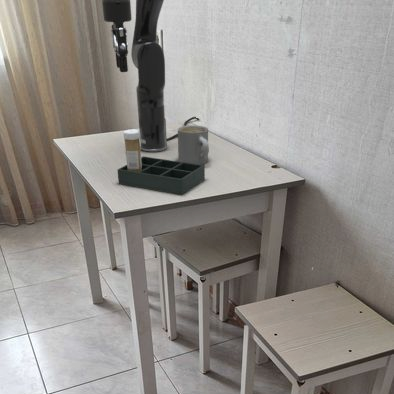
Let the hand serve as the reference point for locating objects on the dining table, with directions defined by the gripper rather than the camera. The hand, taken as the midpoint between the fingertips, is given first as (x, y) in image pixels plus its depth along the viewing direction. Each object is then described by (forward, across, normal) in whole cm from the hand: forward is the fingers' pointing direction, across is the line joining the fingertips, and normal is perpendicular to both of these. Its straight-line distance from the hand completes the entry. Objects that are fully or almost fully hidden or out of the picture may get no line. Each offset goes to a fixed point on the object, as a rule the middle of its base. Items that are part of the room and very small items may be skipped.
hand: (122, 69), depth 137 cm
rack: (+28, +14, +8) cm, 32 cm away
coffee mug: (+28, -3, +22) cm, 36 cm away
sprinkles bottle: (+27, +12, 0) cm, 30 cm away
